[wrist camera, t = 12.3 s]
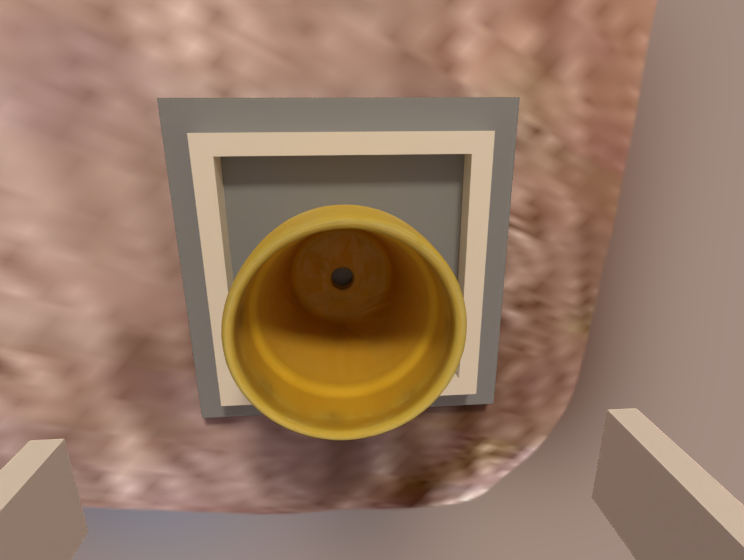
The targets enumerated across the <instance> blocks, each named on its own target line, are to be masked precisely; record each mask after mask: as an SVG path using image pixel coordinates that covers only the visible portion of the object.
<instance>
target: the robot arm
mask: <svg viewBox="0 0 744 560" xmlns="http://www.w3.org/2000/svg"><path fill="white" fill-rule="evenodd" d="M592 498H593V500H594V501H595V503H596V504H597V505H598V507H599V508H600V510H601V511H602V512H603V514H604V515H605V517H606V518H607V519H608V521H609V522H610V524H611V525H612V527H613V528H614V529H615V531H616V532H617V534H618V535H619V536H620V538H621V539H622V541H623V542H624V543H625V545H626V546H627V548H628V549H629V550H630V552H631V553H632V555H633V556H634V557H635V559H636V560H744V505H743V504H742V503H740V502H739V501H738V500H737V499H736V498H735V497H734V496H733V495H731V494H730V493H729V492H728V491H727V490H726V489H725V488H724V487H722V485H720V484H719V483H718V482H717V481H716V480H715V479H714V478H713V477H712V476H710V475H709V474H708V473H707V472H706V471H705V470H704V469H703V468H702V467H701V466H700V465H698V464H697V463H696V462H695V461H694V460H693V459H692V458H691V457H690V456H688V455H687V454H686V453H685V452H684V451H683V450H682V449H681V448H680V447H678V446H677V445H676V444H675V443H674V442H673V441H672V440H671V439H670V438H669V437H667V436H666V435H665V434H664V433H663V432H662V431H661V430H660V429H659V428H657V427H656V426H655V425H654V424H653V423H652V422H651V421H650V420H649V419H648V418H646V417H645V416H644V415H643V414H642V413H641V412H640V411H639V410H637V409H636V408H631V409H611V410H607V414H606V420H605V425H604V432H603V437H602V443H601V448H600V454H599V460H598V465H597V471H596V477H595V483H594V489H593V494H592ZM87 533H88V529H87V525H86V521H85V517H84V513H83V509H82V505H81V501H80V497H79V493H78V489H77V485H76V481H75V477H74V473H73V469H72V465H71V461H70V458H69V454H68V450H67V446H66V442H65V439H50V440H31V441H29V442H28V443H27V444H26V445H25V446H24V447H23V448H22V449H21V450H20V451H19V452H18V453H17V454H16V455H15V456H14V457H13V458H12V459H11V460H10V461H9V462H8V463H7V464H6V465H5V466H4V467H3V468H2V469H1V470H0V560H71V559H72V557H73V555H74V554H75V552H76V551H77V549H78V547H79V546H80V544H81V543H82V541H83V539H84V538H85V536H86V535H87Z"/></svg>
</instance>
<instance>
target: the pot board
mask: <svg viewBox="0 0 744 560" xmlns="http://www.w3.org/2000/svg"><path fill="white" fill-rule="evenodd" d="M519 98H520V97H480V98H157V102H158V109H159V116H160V123H161V130H162V137H163V144H164V151H165V158H166V165H167V172H168V179H169V187H170V194H171V201H172V208H173V215H174V222H175V229H176V236H177V243H178V250H179V257H180V265H181V272H182V279H183V286H184V293H185V300H186V307H187V314H188V321H189V328H190V335H191V343H192V350H193V357H194V364H195V371H196V378H197V385H198V392H199V399H200V406H201V413H202V418H213V417H233V416H253V415H263V414H262V413H261V412H260V411H259V410H257V409H256V408H255V407H254V406H253V405H252V404H251V403H250V402H249V401H248V400H247V398H246V397H245V396H244V395H243V394H242V392H241V391H240V390H239V388H238V386H237V385H236V383H235V382H234V380H233V378H232V376H231V374H230V371H229V369H228V367H227V364H226V361H225V356H224V352H223V346H222V338H221V325H222V316H223V309H224V305H225V301H226V298H227V295H228V293H229V290H230V288H231V285H232V283H233V281H234V280H235V278H236V276H237V274H238V272H239V270H240V269H241V267H242V265H243V264H244V262H245V261H246V259H247V258H248V257H249V255H250V254H251V253H252V251H253V250H254V249H255V248H256V247H257V245H258V244H259V243H260V242H261V241H262V240H263V239H264V238H265V237H266V236H267V235H268V234H269V233H270V232H272V231H273V230H274V229H275V228H277V227H278V226H279V225H281V224H282V223H284V222H285V221H287V220H289V219H290V218H292V217H294V216H296V215H298V214H301V213H303V212H306V211H308V210H312V209H315V208H319V207H324V206H331V205H359V206H366V207H370V208H374V209H378V210H381V211H384V212H387V213H389V214H391V215H393V216H395V217H397V218H399V219H401V220H402V221H404V222H406V223H407V224H409V225H410V226H411V227H413V228H414V229H415V230H416V231H418V232H419V233H420V234H421V235H422V236H424V237H425V238H426V239H427V240H428V241H429V242H430V243H431V244H432V245H433V247H434V248H435V249H436V250H437V251H438V252H439V253H440V255H441V256H442V257H443V258H444V260H445V261H446V262H447V264H448V265H449V267H450V268H451V270H452V272H453V273H454V275H455V277H456V279H457V281H458V283H459V286H460V289H461V291H462V294H463V298H464V302H465V308H466V316H467V333H466V341H465V347H464V351H463V354H462V357H461V360H460V363H459V365H458V368H457V370H456V372H455V374H454V376H453V378H452V379H451V381H450V383H449V384H448V386H447V387H446V388H445V390H444V391H443V392H442V393H441V395H440V396H439V397H438V398H437V399H436V400H435V401H434V402H433V403H432V405H430V406H429V407H435V406H456V405H476V404H493V403H494V391H495V380H496V368H497V356H498V345H499V333H500V321H501V309H502V298H503V286H504V274H505V262H506V251H507V239H508V227H509V216H510V204H511V192H512V180H513V169H514V157H515V145H516V134H517V122H518V110H519ZM332 278H333V281H334V283H335V284H337V285H339V286H345V285H347V284H349V283H350V282H351V280H352V278H353V274H352V272H351V270H349V269H348V268H338V269H336V270H335V271H334V272H333V275H332Z"/></svg>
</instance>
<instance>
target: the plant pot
mask: <svg viewBox="0 0 744 560" xmlns="http://www.w3.org/2000/svg"><path fill="white" fill-rule="evenodd" d="M338 268H348V269H349V270H351V272H352V274H353V278H352V280H351V282H350V283H349V284H347V285H345V286H339V285H337V284H335V283H334V281H333V278H332V275H333V272H334V271H335V270H336V269H338ZM466 333H467V316H466V308H465V302H464V298H463V294H462V291H461V289H460V286H459V283H458V281H457V279H456V277H455V275H454V273H453V272H452V270H451V268H450V267H449V265H448V264H447V262H446V261H445V260H444V258H443V257H442V256H441V255H440V253H439V252H438V251H437V250H436V249H435V248H434V247H433V245H432V244H431V243H430V242H429V241H428V240H427V239H426V238H425V237H424V236H422V235H421V234H420V233H419V232H418V231H416V230H415V229H414V228H413V227H411V226H410V225H409V224H407V223H406V222H404V221H402V220H401V219H399V218H397V217H395V216H393V215H391V214H389V213H387V212H384V211H381V210H378V209H374V208H370V207H366V206H359V205H331V206H324V207H319V208H315V209H312V210H308V211H306V212H303V213H301V214H298V215H296V216H294V217H292V218H290V219H289V220H287V221H285V222H284V223H282V224H281V225H279V226H278V227H277V228H275V229H274V230H273V231H272V232H270V233H269V234H268V235H267V236H266V237H265V238H264V239H263V240H262V241H261V242H260V243H259V244H258V245H257V247H256V248H255V249H254V250H253V251H252V253H251V254H250V255H249V257H248V258H247V259H246V261H245V262H244V264H243V265H242V267H241V269H240V270H239V272H238V274H237V276H236V278H235V280H234V281H233V283H232V285H231V288H230V290H229V293H228V295H227V298H226V301H225V305H224V309H223V316H222V325H221V338H222V346H223V352H224V356H225V361H226V364H227V367H228V369H229V371H230V374H231V376H232V378H233V380H234V382H235V383H236V385H237V386H238V388H239V390H240V391H241V392H242V394H243V395H244V396H245V397H246V398H247V400H248V401H249V402H250V403H251V404H252V405H253V406H254V407H255V408H256V409H257V410H259V411H260V412H261V413H262V414H263V415H265V416H266V417H268V418H269V419H271V420H272V421H273V422H275V423H277V424H279V425H281V426H283V427H285V428H287V429H289V430H292V431H294V432H296V433H299V434H303V435H306V436H310V437H314V438H320V439H328V440H355V439H361V438H367V437H372V436H376V435H379V434H382V433H385V432H388V431H390V430H393V429H395V428H397V427H400V426H402V425H403V424H405V423H407V422H409V421H410V420H412V419H414V418H415V417H417V416H418V415H419V414H421V413H422V412H423V411H425V410H426V409H427V408H428V407H429V406H430V405H432V403H433V402H434V401H435V400H436V399H437V398H438V397H439V396H440V395H441V393H442V392H443V391H444V390H445V388H446V387H447V386H448V384H449V383H450V381H451V379H452V378H453V376H454V374H455V372H456V370H457V368H458V365H459V363H460V360H461V357H462V354H463V351H464V347H465V341H466Z"/></svg>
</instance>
